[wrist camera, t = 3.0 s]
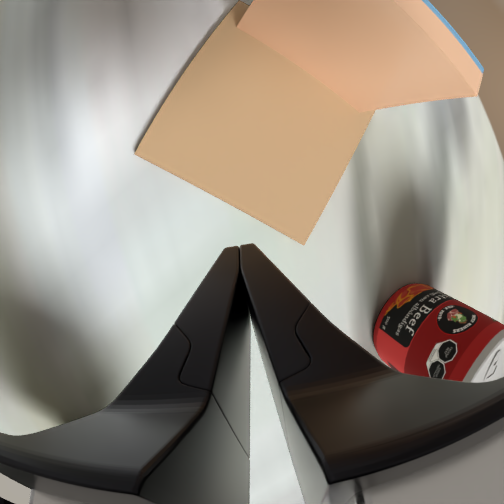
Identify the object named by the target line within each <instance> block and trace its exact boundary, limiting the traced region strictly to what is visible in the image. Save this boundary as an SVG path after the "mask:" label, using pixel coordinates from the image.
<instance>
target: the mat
mask: <svg viewBox="0 0 504 504" xmlns="http://www.w3.org/2000/svg"><path fill="white" fill-rule="evenodd" d="M248 8H249V5H247V4H245V3H244V2H242V1H240V0H239V1H238V2H237V3H236V5H235V6H234V7H233V8H232V9H231V11H230V12H229V13H228V14H227V15H226V17H225V18H224V19H223V20H222V22H221V23H220V24H219V25H218V27H217V28H216V29H215V30H214V32H213V33H212V34H211V36H210V37H209V38H208V40H207V41H206V42H205V44H204V45H203V46H202V48H201V49H200V50H199V52H198V53H197V54H196V56H195V57H194V59H193V60H192V61H191V63H190V64H189V66H188V67H187V69H186V70H185V72H184V73H183V74H182V76H181V77H180V79H179V80H178V82H177V83H176V85H175V86H174V88H173V90H172V91H171V93H170V94H169V96H168V97H167V99H166V100H165V102H164V104H163V105H162V107H161V108H160V110H159V112H158V113H157V115H156V117H155V118H154V120H153V122H152V123H151V125H150V127H149V129H148V130H147V132H146V134H145V136H144V137H143V139H142V141H141V143H140V144H139V146H138V148H137V150H136V152H135V155H137V156H139V157H141V158H143V159H145V160H147V161H149V162H150V163H152V164H154V165H156V166H158V167H160V168H162V169H164V170H166V171H168V172H170V173H172V174H174V175H175V176H177V177H179V178H181V179H183V180H185V181H187V182H189V183H191V184H193V185H194V186H196V187H198V188H200V189H202V190H204V191H206V192H208V193H210V194H211V195H213V196H215V197H217V198H219V199H221V200H223V201H224V202H226V203H228V204H230V205H232V206H234V207H235V208H237V209H239V210H241V211H243V212H245V213H246V214H248V215H250V216H252V217H254V218H256V219H257V220H259V221H261V222H263V223H265V224H266V225H268V226H270V227H272V228H274V229H275V230H277V231H279V232H281V233H283V234H284V235H286V236H288V237H290V238H291V239H293V240H295V241H297V242H299V243H300V244H302V245H305V243H306V241H307V239H308V237H309V236H310V234H311V232H312V230H313V228H314V227H315V225H316V223H317V221H318V219H319V217H320V216H321V214H322V212H323V210H324V208H325V206H326V205H327V203H328V201H329V199H330V197H331V195H332V193H333V192H334V190H335V188H336V186H337V184H338V182H339V180H340V178H341V176H342V175H343V173H344V171H345V169H346V167H347V165H348V163H349V161H350V159H351V157H352V155H353V153H354V152H355V150H356V148H357V146H358V144H359V142H360V140H361V138H362V136H363V134H364V132H365V130H366V128H367V126H368V124H369V122H370V120H371V118H372V116H373V114H374V112H375V110H371V111H366V112H361V113H359V112H358V111H357V110H356V109H355V108H353V107H352V106H351V105H350V104H348V103H347V102H346V101H345V100H344V99H342V98H341V97H340V96H338V95H337V94H336V93H335V92H333V91H332V90H331V89H329V88H328V87H327V86H325V85H324V84H323V83H321V82H320V81H319V80H317V79H316V78H315V77H313V76H312V75H311V74H309V73H308V72H306V71H305V70H303V69H302V68H301V67H299V66H298V65H296V64H295V63H293V62H292V61H290V60H289V59H287V58H286V57H284V56H283V55H281V54H280V53H278V52H277V51H275V50H274V49H272V48H270V47H269V46H267V45H266V44H264V43H262V42H261V41H259V40H257V39H256V38H254V37H252V36H251V35H249V34H247V33H245V32H244V31H242V30H240V29H238V28H237V25H238V24H239V22H240V20H241V19H242V17H243V16H244V14H245V12H246V11H247V9H248Z"/></svg>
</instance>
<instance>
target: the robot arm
mask: <svg viewBox="0 0 504 504" xmlns="http://www.w3.org/2000/svg"><path fill="white" fill-rule="evenodd" d="M250 316H251V321H252V325H253V328H254V332H255V336H256V339H257V343H258V346H259V350H260V353H261V357H262V360H263V364H264V367H265V371H266V374H267V378H268V381H269V385H270V388H271V392H272V395H273V398H274V402H275V405H276V409H277V412H278V415H279V419H280V422H281V426H282V429H283V432H284V436H285V439H286V442H287V446H288V449H289V452H290V456H291V459H292V462H293V466H294V469H295V472H296V475H297V479H298V482H299V485H300V488H301V491H302V495H303V498H304V501H305V504H504V377H501V378H499V379H496V380H493V381H488V382H478V383H475V382H462V381H453V380H445V379H438V378H431V377H424V376H417V375H410V374H405V373H401V372H398V371H396V370H394V369H392V368H390V367H388V366H386V365H385V364H383V363H382V362H381V361H379V360H378V359H377V358H375V357H374V356H373V355H372V354H370V353H369V352H368V351H366V350H365V349H364V348H362V347H361V346H360V345H359V344H357V343H356V342H355V341H353V340H352V339H351V338H350V337H348V336H347V335H346V334H345V333H343V332H342V331H341V330H340V329H338V328H337V327H336V326H335V325H334V324H332V323H331V322H330V321H329V320H328V319H327V318H326V317H325V316H324V315H323V314H322V313H321V312H320V311H319V310H318V309H317V308H316V307H315V306H314V305H313V304H311V302H310V301H309V300H308V299H307V298H306V297H305V296H304V295H303V294H302V293H301V292H300V291H299V290H298V289H297V287H296V286H295V285H294V284H293V283H292V282H291V281H290V280H289V279H288V278H287V277H286V276H285V275H284V274H283V273H282V272H281V271H280V270H279V269H278V268H277V267H276V266H275V265H274V264H273V263H272V262H271V261H270V260H269V259H268V258H267V257H266V256H265V255H264V253H263V252H262V251H261V250H260V249H259V248H258V247H257V246H256V245H255V244H253V243H251V244H245V245H241V246H240V248H239V247H238V246H233V247H227V248H225V249H224V250H223V251H222V253H221V254H220V256H219V257H218V259H217V260H216V261H215V263H214V264H213V266H212V267H211V269H210V270H209V272H208V273H207V275H206V276H205V278H204V279H203V281H202V282H201V284H200V285H199V287H198V288H197V290H196V291H195V293H194V294H193V296H192V297H191V299H190V300H189V302H188V303H187V305H186V306H185V308H184V309H183V311H182V312H181V314H180V315H179V317H178V318H177V320H176V321H175V325H173V326H172V327H171V329H170V330H169V332H168V333H167V335H166V336H165V338H164V339H163V340H162V342H161V343H160V345H159V346H158V348H157V349H156V350H155V351H154V353H153V354H152V355H151V356H150V358H149V359H148V360H147V362H146V363H145V364H144V365H143V366H142V368H141V369H140V370H139V371H138V373H137V374H136V375H135V376H134V377H133V379H132V380H131V381H130V382H129V383H128V385H127V386H126V387H125V388H124V389H123V391H122V392H121V393H120V394H119V395H118V397H117V398H116V399H115V400H114V401H113V402H112V403H111V404H110V405H108V406H107V407H106V408H104V409H102V410H101V411H99V412H96V413H94V414H91V415H88V416H86V417H83V418H80V419H77V420H74V421H71V422H68V423H65V424H62V425H59V426H56V427H53V428H50V429H46V430H43V431H40V432H37V433H33V434H28V435H21V436H13V435H7V434H4V433H0V473H2V474H3V475H5V476H7V477H9V478H11V479H12V480H15V481H17V482H18V483H20V484H22V485H24V486H26V487H28V488H30V489H31V495H30V502H29V504H249V488H250V460H249V458H250V339H251V323H250ZM0 504H14V503H12V502H10V501H7V500H5V499H3V498H1V497H0Z"/></svg>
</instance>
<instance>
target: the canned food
mask: <svg viewBox="0 0 504 504" xmlns="http://www.w3.org/2000/svg"><path fill="white" fill-rule="evenodd" d="M373 340H374V346H375V348H376V351H377V353H378V355H379V356H380V358H381V359H382V360H383V361H384V362H385V363H386V364H387V365H388V366H390V367H391V368H392V369H394V370H396V371H398V372H401V373H405V374H410V375H417V376H424V377H431V378H438V379H445V380H453V381H462V382H475V383H478V382H488V381H493V380H496V379H499V378H501V377H504V325H503V324H501V323H500V322H498V321H496V320H494V319H492V318H491V317H489V316H487V315H485V314H483V313H481V312H479V311H477V310H475V309H473V308H472V307H470V306H468V305H466V304H464V303H462V302H460V301H458V300H456V299H454V298H452V297H450V296H448V295H446V294H444V293H442V292H440V291H438V290H436V289H434V288H432V287H430V286H428V285H425V284H409V285H406V286H404V287H402V288H401V289H399V290H398V291H397V292H396V293H394V294H393V295H392V296H391V297H390V299H389V300H388V301H387V302H386V304H385V305H384V307H383V308H382V310H381V312H380V314H379V316H378V319H377V321H376V324H375V329H374V337H373Z"/></svg>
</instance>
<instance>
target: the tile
mask: <svg viewBox="0 0 504 504" xmlns="http://www.w3.org/2000/svg"><path fill="white" fill-rule="evenodd" d="M237 28H238V29H240V30H242V31H244V32H245V33H247V34H249V35H251V36H252V37H254V38H256V39H257V40H259V41H261V42H262V43H264V44H266V45H267V46H269V47H270V48H272V49H274V50H275V51H277V52H278V53H280V54H281V55H283V56H284V57H286V58H287V59H289V60H290V61H292V62H293V63H295V64H296V65H298V66H299V67H301V68H302V69H303V70H305V71H306V72H308V73H309V74H311V75H312V76H313V77H315V78H316V79H317V80H319V81H320V82H321V83H323V84H324V85H325V86H327V87H328V88H329V89H331V90H332V91H333V92H335V93H336V94H337V95H338V96H340V97H341V98H342V99H344V100H345V101H346V102H347V103H348V104H350V105H351V106H352V107H353V108H355V109H356V110H357V111H358V112H359V113H361V112H366V111H371V110H377V109H382V108H388V107H394V106H400V105H406V104H413V103H420V102H427V101H435V100H444V99H453V98H463V97H474V96H477V95H478V91H479V87H480V83H481V80H482V76H483V71H484V68H483V67H482V65H481V64H480V62H479V61H478V60H477V58H476V57H475V56H474V54H473V53H472V51H471V50H470V49H469V48H468V46H467V45H466V44H465V42H464V41H463V40H462V39H461V37H460V36H459V35H458V34H457V32H456V31H455V30H454V29H453V28H452V26H451V25H450V24H449V23H448V22H447V21H446V19H445V18H444V17H443V16H442V15H441V14H440V13H439V12H438V11H437V9H436V8H435V7H434V6H433V5H432V4H431V3H430V2H429V1H428V0H253V2H252V3H251V5H250V6H249V8H248V9H247V11H246V12H245V14H244V16H243V17H242V19H241V20H240V22H239V24H238V25H237Z"/></svg>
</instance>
